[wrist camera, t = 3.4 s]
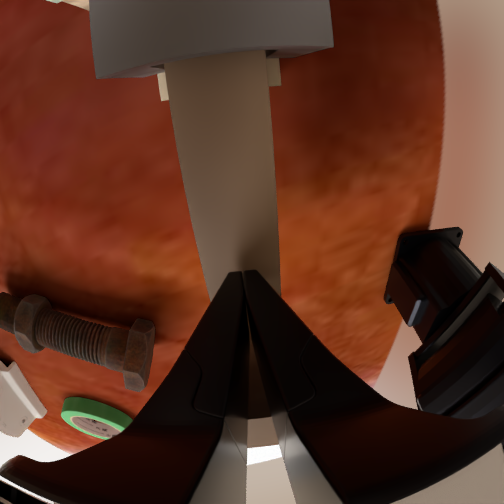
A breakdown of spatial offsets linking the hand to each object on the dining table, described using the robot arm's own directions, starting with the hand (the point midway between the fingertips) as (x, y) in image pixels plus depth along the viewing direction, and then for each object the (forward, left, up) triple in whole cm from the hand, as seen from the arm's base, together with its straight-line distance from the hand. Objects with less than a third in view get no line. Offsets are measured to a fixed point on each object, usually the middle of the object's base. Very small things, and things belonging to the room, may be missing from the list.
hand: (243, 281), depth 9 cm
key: (0, -1, -3) cm, 3 cm away
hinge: (+38, +23, -8) cm, 45 cm away
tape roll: (+24, +30, -8) cm, 39 cm away
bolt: (+15, +8, -8) cm, 19 cm away
